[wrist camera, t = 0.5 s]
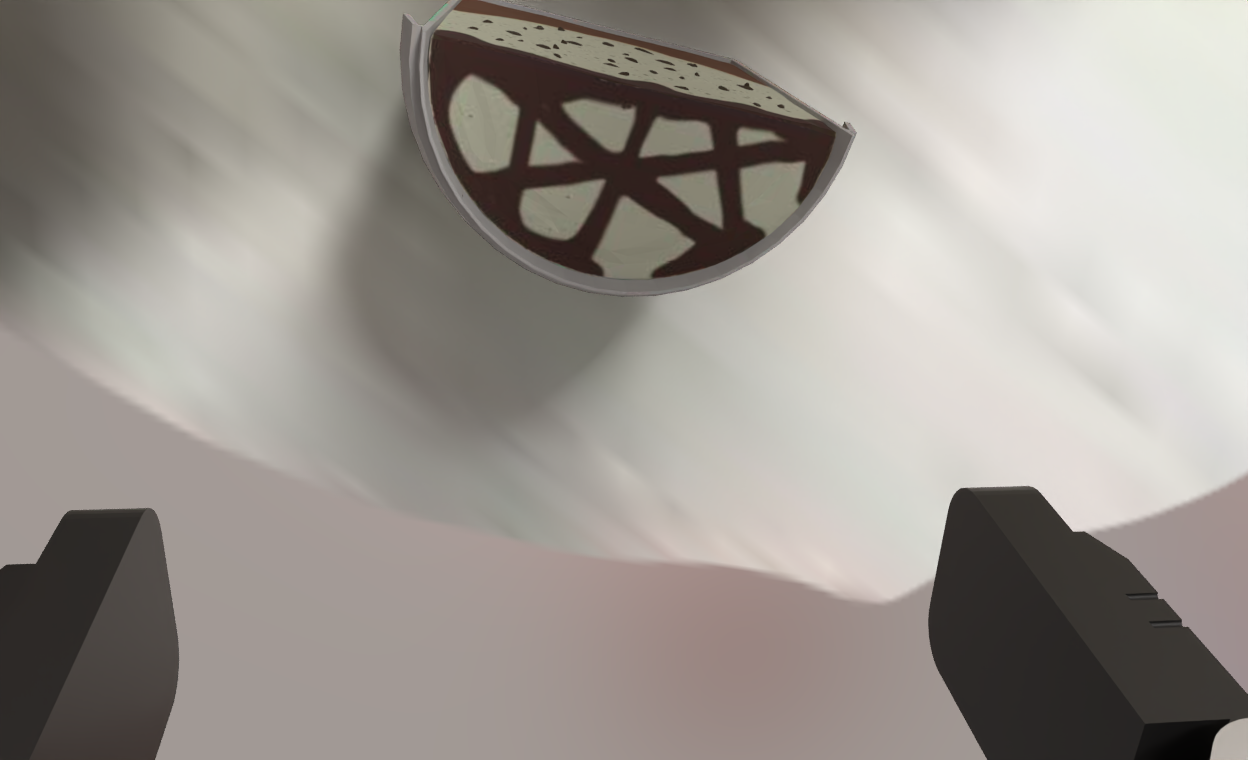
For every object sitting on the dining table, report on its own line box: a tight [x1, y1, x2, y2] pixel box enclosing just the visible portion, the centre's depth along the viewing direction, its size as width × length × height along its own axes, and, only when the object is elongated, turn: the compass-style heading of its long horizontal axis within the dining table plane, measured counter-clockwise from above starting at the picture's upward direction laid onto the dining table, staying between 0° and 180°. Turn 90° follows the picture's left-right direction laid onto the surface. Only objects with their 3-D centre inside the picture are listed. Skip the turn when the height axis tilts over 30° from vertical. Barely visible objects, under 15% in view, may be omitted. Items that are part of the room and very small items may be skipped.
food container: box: [400, 0, 857, 297], centre depth 35 cm, size 12×6×10 cm, turn 75°
